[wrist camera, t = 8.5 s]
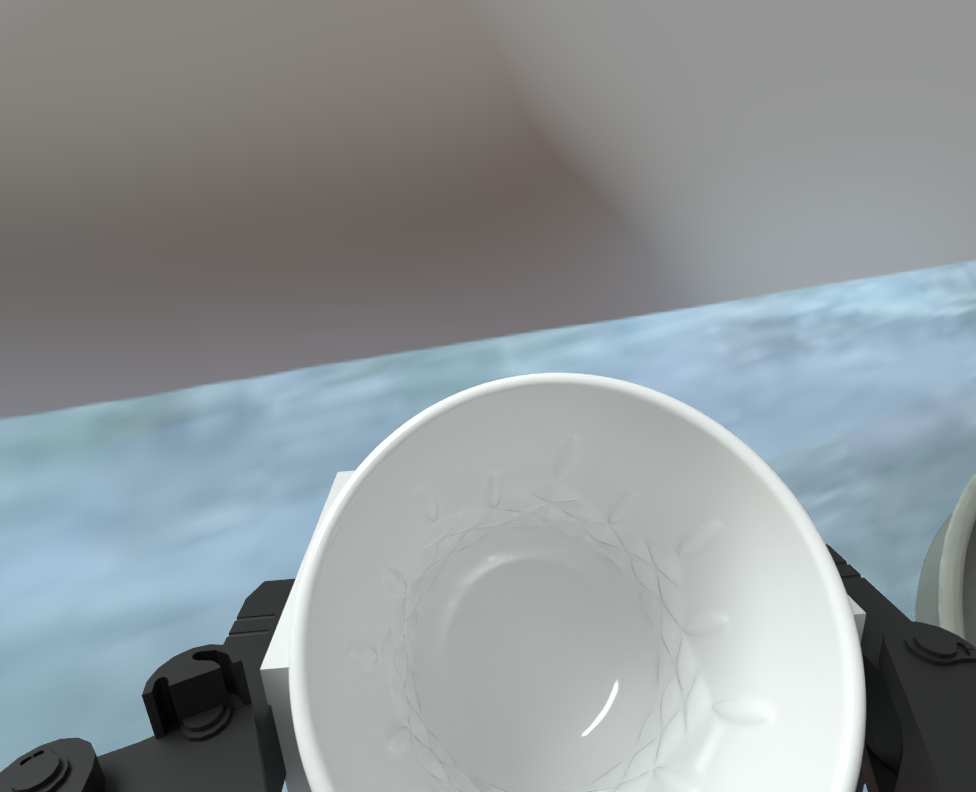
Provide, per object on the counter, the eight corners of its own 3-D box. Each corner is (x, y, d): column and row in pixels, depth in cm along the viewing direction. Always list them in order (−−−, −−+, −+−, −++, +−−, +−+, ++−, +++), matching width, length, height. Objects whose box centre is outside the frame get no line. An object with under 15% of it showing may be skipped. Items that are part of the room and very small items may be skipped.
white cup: (389, 531, 19) (301, 390, 10) (633, 509, 19) (766, 353, 10) (394, 834, 15) (266, 1049, 6) (693, 800, 16) (976, 959, 7)
